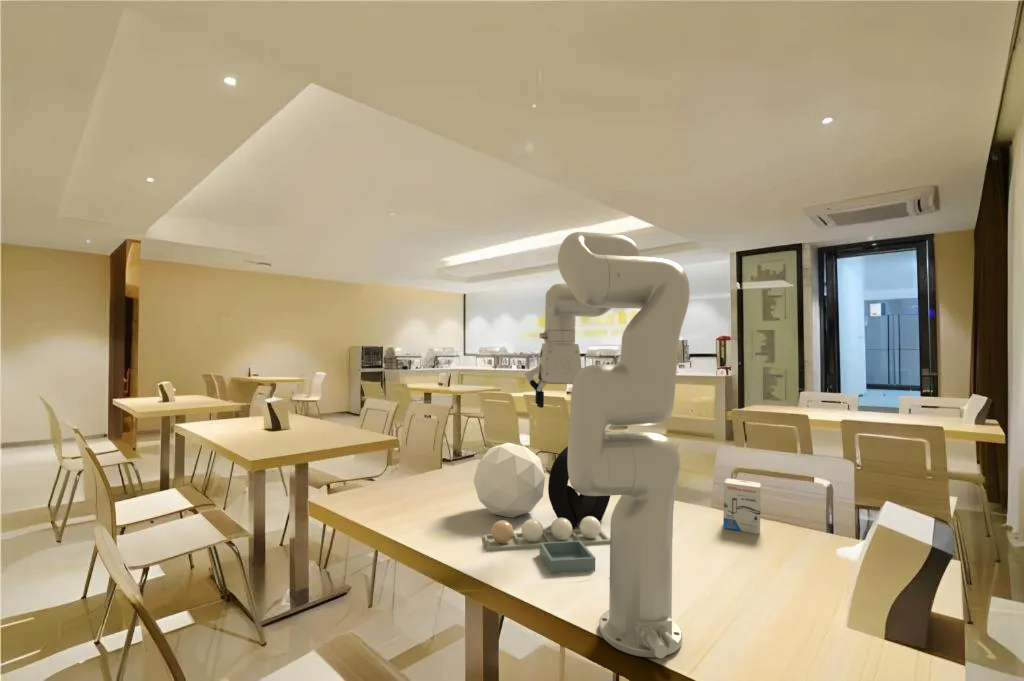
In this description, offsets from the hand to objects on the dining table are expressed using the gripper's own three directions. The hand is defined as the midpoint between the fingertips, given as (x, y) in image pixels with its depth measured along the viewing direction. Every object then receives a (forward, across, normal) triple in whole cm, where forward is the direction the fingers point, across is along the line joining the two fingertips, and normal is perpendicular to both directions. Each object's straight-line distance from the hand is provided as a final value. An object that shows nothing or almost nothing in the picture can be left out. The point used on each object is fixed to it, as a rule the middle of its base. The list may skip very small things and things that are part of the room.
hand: (558, 406), depth 122 cm
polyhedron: (+31, -8, +14) cm, 35 cm away
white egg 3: (+30, +6, -8) cm, 32 cm away
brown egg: (+30, -15, -6) cm, 34 cm away
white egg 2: (+30, -1, -7) cm, 31 cm away
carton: (+31, -5, -7) cm, 32 cm away
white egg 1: (+30, -8, -7) cm, 32 cm away
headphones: (+31, +8, +3) cm, 32 cm away
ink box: (+31, +47, -8) cm, 57 cm away
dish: (+31, -4, -19) cm, 36 cm away
